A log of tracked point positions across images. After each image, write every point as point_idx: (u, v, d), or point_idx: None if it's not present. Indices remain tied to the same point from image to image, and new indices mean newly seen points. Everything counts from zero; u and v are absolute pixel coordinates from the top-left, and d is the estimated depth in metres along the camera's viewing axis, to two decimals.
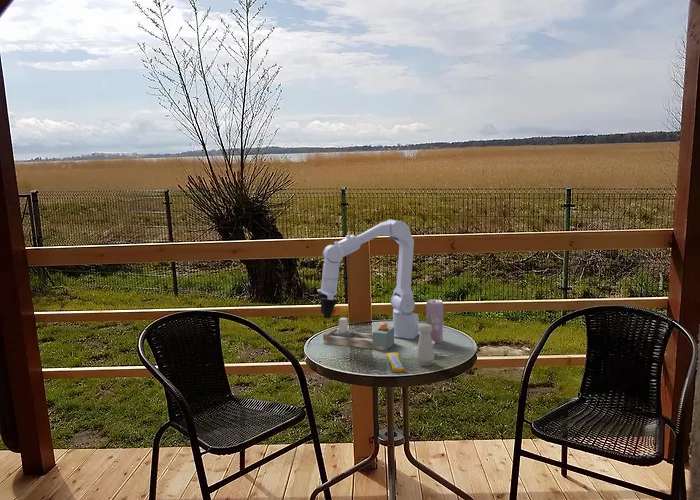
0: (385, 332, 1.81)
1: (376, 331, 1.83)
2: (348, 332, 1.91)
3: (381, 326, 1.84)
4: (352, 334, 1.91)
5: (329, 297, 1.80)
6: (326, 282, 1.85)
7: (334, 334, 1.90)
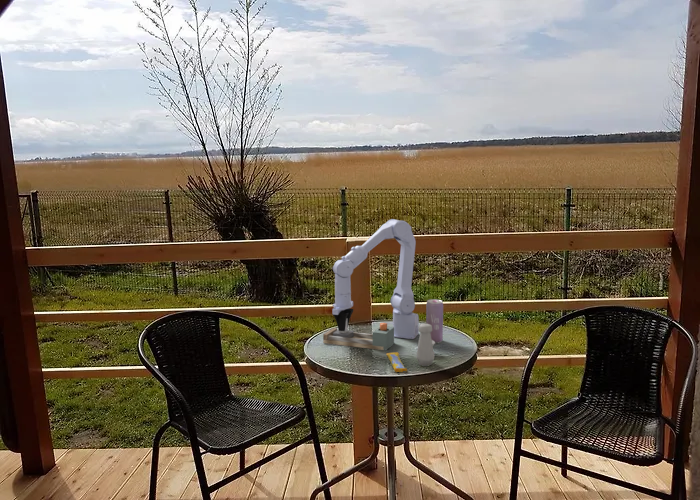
0: (385, 332, 1.81)
1: (376, 331, 1.83)
2: (348, 332, 1.91)
3: (381, 326, 1.84)
4: (352, 334, 1.91)
5: (333, 312, 1.84)
6: (336, 297, 1.88)
7: (334, 334, 1.90)
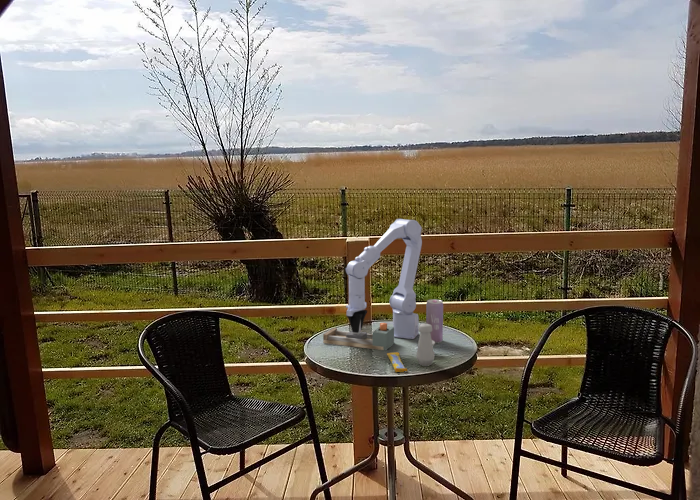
0: (385, 332, 1.81)
1: (376, 331, 1.83)
2: (361, 333, 1.89)
3: (381, 326, 1.84)
4: (365, 335, 1.89)
5: (347, 313, 1.82)
6: (350, 298, 1.86)
7: (348, 336, 1.88)
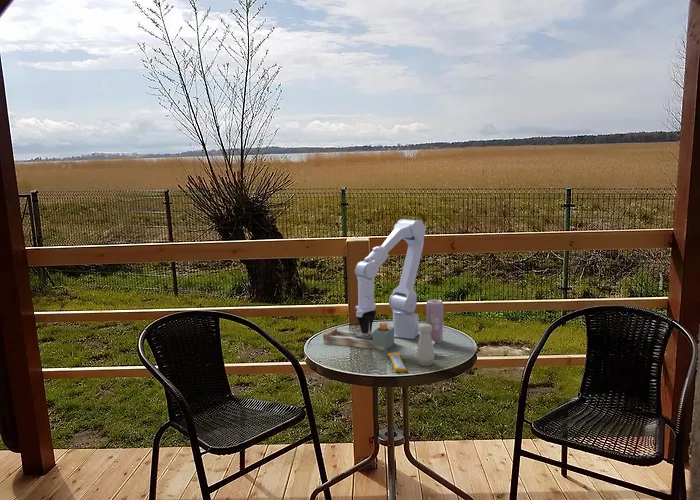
0: (385, 332, 1.81)
1: (376, 331, 1.83)
2: (371, 334, 1.87)
3: (381, 326, 1.84)
4: None
5: (357, 314, 1.80)
6: (359, 299, 1.84)
7: (357, 337, 1.86)
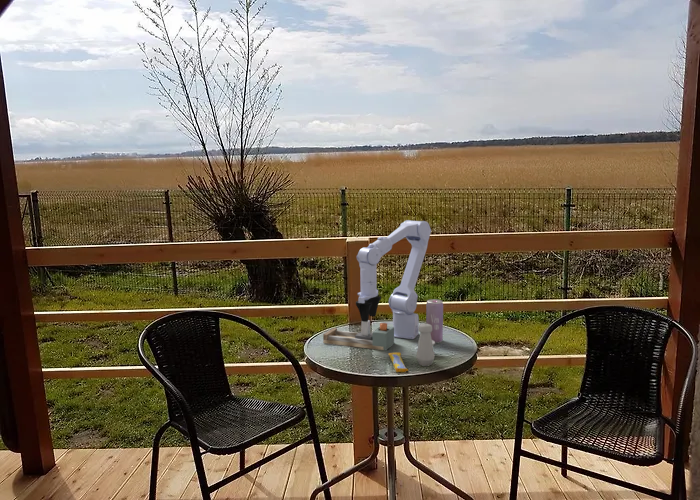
0: (385, 332, 1.81)
1: (376, 331, 1.83)
2: (371, 334, 1.87)
3: (381, 326, 1.84)
4: None
5: (359, 300, 1.79)
6: (362, 285, 1.83)
7: (357, 337, 1.86)
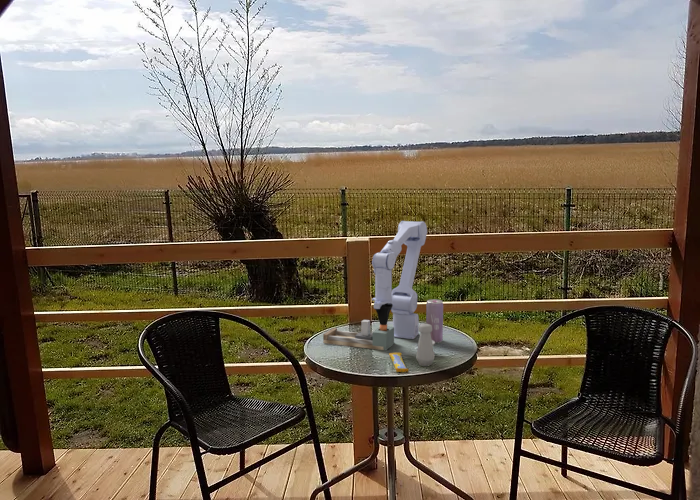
0: (385, 332, 1.81)
1: (376, 331, 1.83)
2: (371, 334, 1.87)
3: (381, 327, 1.84)
4: None
5: (375, 306, 1.77)
6: (377, 291, 1.82)
7: (357, 337, 1.86)
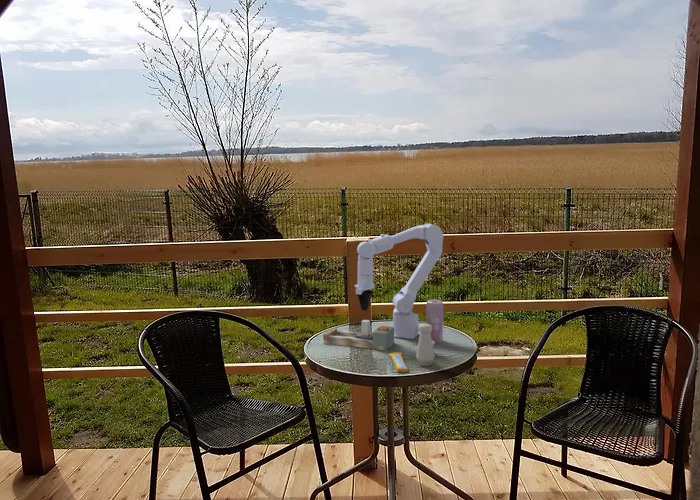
0: (385, 332, 1.81)
1: (376, 331, 1.83)
2: (371, 334, 1.87)
3: (381, 329, 1.84)
4: None
5: (356, 292, 1.88)
6: (359, 278, 1.93)
7: (357, 337, 1.86)
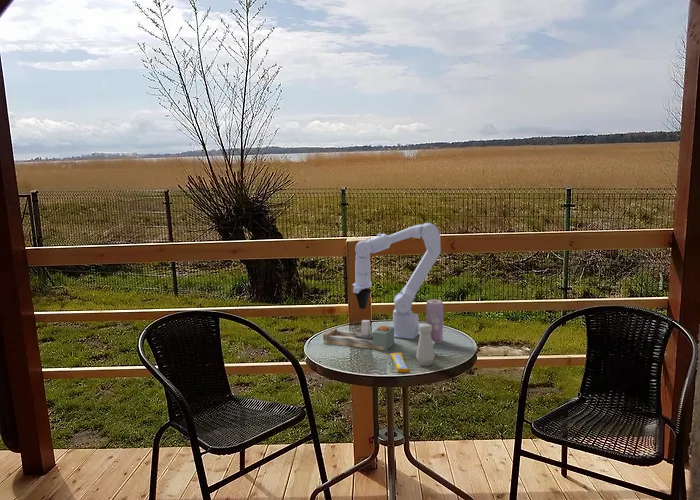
0: (385, 332, 1.81)
1: (376, 331, 1.83)
2: (371, 334, 1.87)
3: (381, 329, 1.84)
4: None
5: (354, 291, 1.91)
6: (356, 276, 1.95)
7: (357, 337, 1.86)
